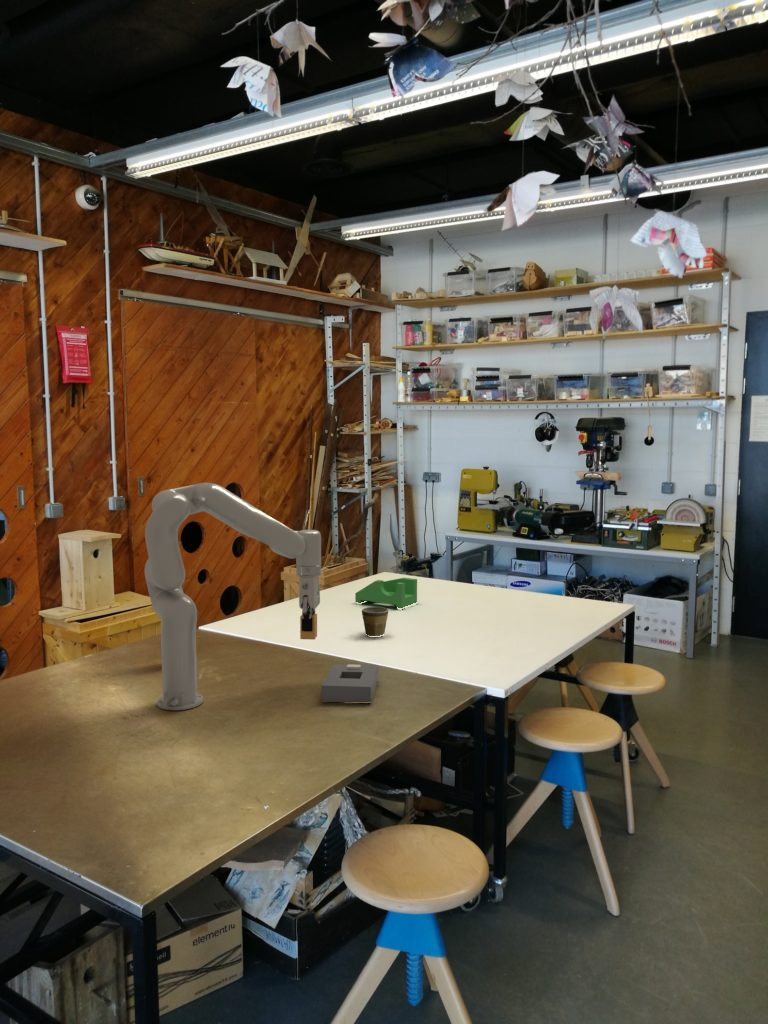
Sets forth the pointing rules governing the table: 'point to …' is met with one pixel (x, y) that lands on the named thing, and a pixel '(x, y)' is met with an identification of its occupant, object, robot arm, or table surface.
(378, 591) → the ramp block with notch
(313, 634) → the plug
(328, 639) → the table surface
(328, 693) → the socket
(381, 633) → the ceramic cup
